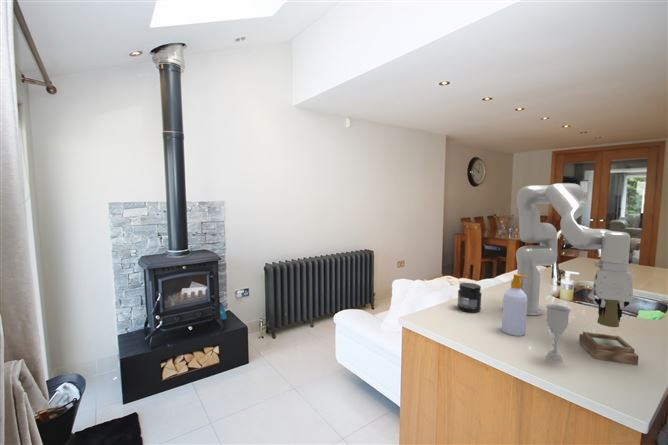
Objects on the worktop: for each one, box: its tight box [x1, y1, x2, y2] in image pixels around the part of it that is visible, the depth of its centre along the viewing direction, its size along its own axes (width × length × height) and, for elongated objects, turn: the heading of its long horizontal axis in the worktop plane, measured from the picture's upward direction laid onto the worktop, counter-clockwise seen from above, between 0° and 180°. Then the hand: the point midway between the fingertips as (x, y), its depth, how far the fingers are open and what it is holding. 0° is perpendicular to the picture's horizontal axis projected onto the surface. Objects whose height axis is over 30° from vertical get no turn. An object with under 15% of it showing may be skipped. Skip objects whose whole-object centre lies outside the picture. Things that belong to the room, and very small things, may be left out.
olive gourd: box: [597, 299, 620, 328], centre depth 117 cm, size 6×6×11 cm
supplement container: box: [457, 282, 482, 314], centre depth 160 cm, size 10×10×12 cm
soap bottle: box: [501, 273, 529, 337], centre depth 134 cm, size 9×9×24 cm
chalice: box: [545, 303, 571, 364], centre depth 112 cm, size 7×7×18 cm
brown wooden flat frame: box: [578, 331, 639, 365], centre depth 118 cm, size 12×14×4 cm
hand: (609, 317), depth 117 cm, fingers closed on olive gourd, 3 cm apart
